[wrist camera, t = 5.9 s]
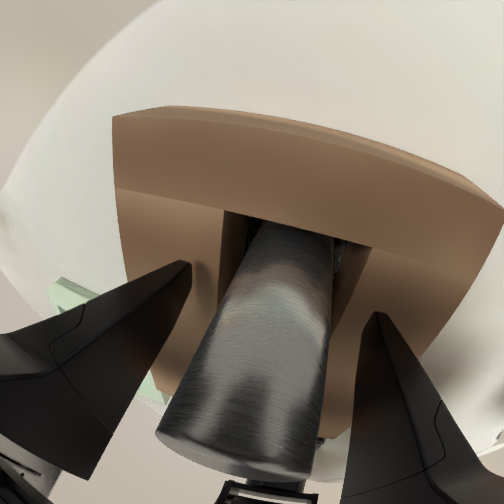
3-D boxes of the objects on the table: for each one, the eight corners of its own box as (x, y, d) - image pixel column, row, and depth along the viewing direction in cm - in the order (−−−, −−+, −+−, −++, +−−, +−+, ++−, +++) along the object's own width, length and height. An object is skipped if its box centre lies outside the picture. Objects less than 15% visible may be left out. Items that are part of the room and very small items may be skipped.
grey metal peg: (322, 271, 12) (287, 487, 5) (257, 254, 12) (166, 452, 5) (342, 210, 10) (336, 464, 3) (267, 192, 11) (139, 408, 3)
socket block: (338, 395, 17) (334, 438, 14) (177, 351, 19) (156, 389, 16) (463, 175, 8) (508, 212, 5) (169, 105, 10) (112, 116, 7)
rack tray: (174, 389, 23) (165, 405, 21) (91, 349, 24) (81, 362, 22) (161, 320, 17) (146, 342, 15) (61, 277, 18) (46, 291, 17)
